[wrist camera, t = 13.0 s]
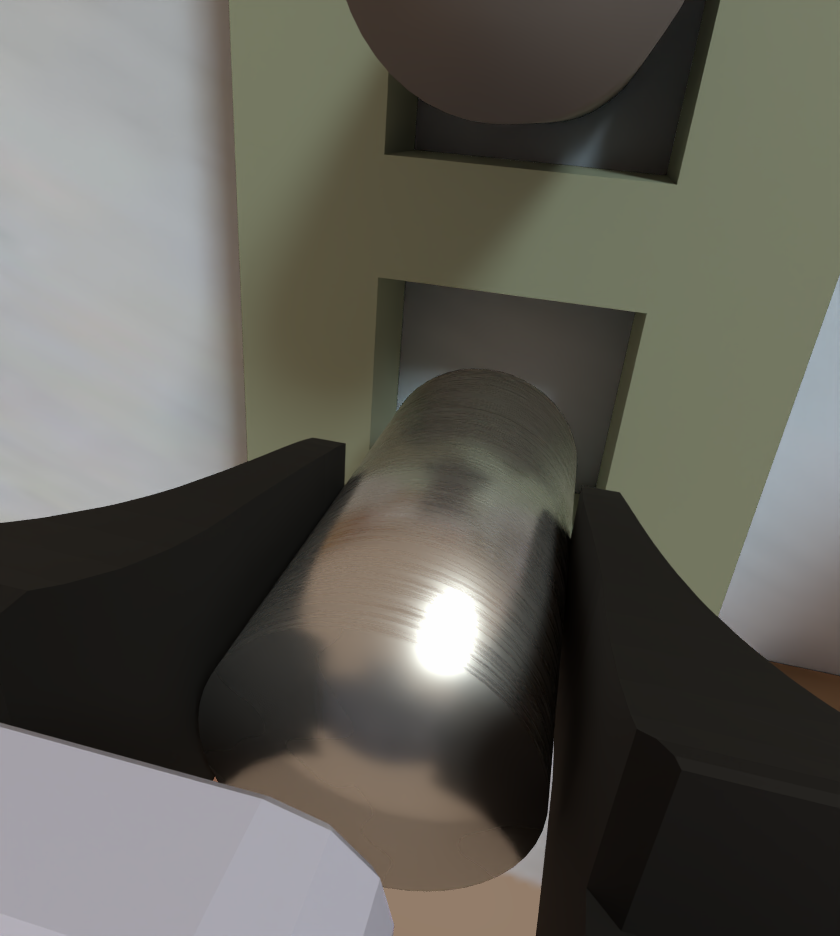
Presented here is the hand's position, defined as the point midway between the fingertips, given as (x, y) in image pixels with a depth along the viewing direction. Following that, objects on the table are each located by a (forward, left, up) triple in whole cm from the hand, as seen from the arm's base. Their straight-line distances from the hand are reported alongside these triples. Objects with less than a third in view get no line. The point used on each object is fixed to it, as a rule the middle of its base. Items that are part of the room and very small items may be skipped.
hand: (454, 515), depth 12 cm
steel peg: (0, 0, -3) cm, 3 cm away
